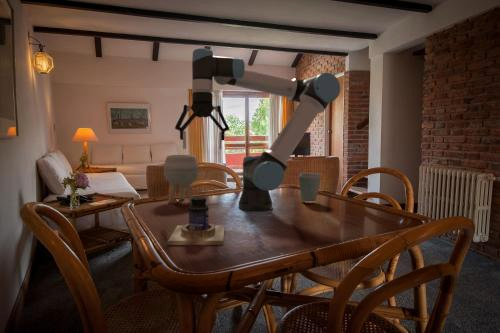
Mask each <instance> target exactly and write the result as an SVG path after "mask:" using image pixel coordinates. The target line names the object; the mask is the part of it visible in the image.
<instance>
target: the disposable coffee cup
mask: <svg viewBox="0 0 500 333" xmlns="http://www.w3.org/2000/svg"><path fill="white" fill-rule="evenodd" d="M298 178H299V188H300V189H299V190H300V198H301V200H302V201H316V202H317V196H318V192H319V189H320V188H319V187H320V183H321V179H322V175H321V173H316V172H315V173H314V172H300V173H299V174H298ZM302 201H301V202H302Z"/></svg>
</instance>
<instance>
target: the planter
mask: <svg viewBox="0 0 500 333" xmlns="http://www.w3.org/2000/svg"><path fill="white" fill-rule="evenodd" d="M163 175H164V178H165V179H166V181H167V182H168V183H169V184H171V186H170V193H169V196H168V201H167V202H168V203H169V204H172V203H173V202H174V200H175V196H176V192H177V189H178V187H179V199H180V200H184V199H185V195H186V196H187V200H188V202H189V204H192V202H191V198H193V193H192V188H191V187H192V186H191V185H192V184H193V183H194V182H195V181H196V180H197V178H198V175H199V165H198V160H197V157H196V156H195V155H193V154H168V155H167V156H166V157H165V161H164V164H163ZM185 193H186V194H185Z"/></svg>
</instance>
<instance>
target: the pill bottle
mask: <svg viewBox="0 0 500 333" xmlns="http://www.w3.org/2000/svg"><path fill="white" fill-rule="evenodd" d="M191 202H192V203H191V205H190V206H189V207H188V224H189V230H193V231H202V230H208V229H209V223H210V221H209V220H210V218H209V206H208V205H207V204H206V203H207V197H204V196H195V197H193V198H191Z"/></svg>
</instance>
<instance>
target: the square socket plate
mask: <svg viewBox="0 0 500 333" xmlns="http://www.w3.org/2000/svg"><path fill="white" fill-rule="evenodd" d="M225 228H226V225H224V224H223V225H219V224H218V225H216V224H214V223H212V222H211V223H210V222H209V229H208V230H202V231H193V230H189V223H186V224H183V225H178V224H177V226H176V227H175V229H174V231H173V232H172V233H171V235H170V236H169V239H168V240H167V245H168V246H194V245H195V246H200V245H201V246H207V245H208V246H209V245H210V246H211V245H212V246H221V245H224V241H225V240H224V239H225Z"/></svg>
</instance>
